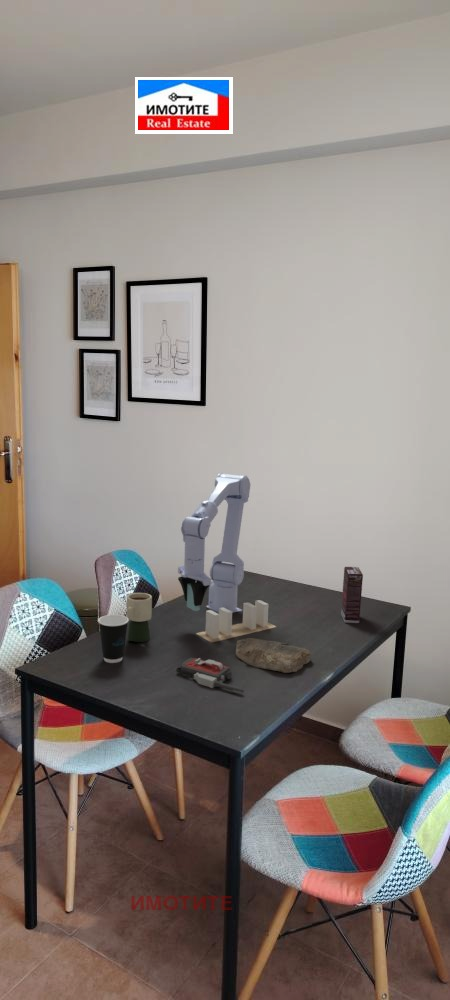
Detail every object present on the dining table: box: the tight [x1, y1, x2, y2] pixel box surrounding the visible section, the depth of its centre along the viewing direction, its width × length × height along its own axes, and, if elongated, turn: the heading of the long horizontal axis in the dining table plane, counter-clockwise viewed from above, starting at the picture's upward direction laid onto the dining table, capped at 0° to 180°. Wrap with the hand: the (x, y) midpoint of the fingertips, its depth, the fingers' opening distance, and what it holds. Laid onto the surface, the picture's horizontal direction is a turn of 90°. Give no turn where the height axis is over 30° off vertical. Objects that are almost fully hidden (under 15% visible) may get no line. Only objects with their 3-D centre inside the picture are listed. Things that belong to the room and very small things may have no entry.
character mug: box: [125, 592, 153, 643], centre depth 197 cm, size 11×7×13 cm, turn 154°
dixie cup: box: [97, 614, 130, 664], centre depth 184 cm, size 8×8×11 cm
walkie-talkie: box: [175, 657, 245, 693], centre depth 175 cm, size 9×4×20 cm
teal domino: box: [186, 584, 201, 612], centre depth 205 cm, size 2×4×7 cm, turn 35°
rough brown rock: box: [235, 637, 313, 674], centre depth 188 cm, size 14×5×20 cm
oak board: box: [195, 622, 277, 643], centre depth 207 cm, size 8×24×1 cm, turn 126°
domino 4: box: [254, 599, 270, 627], centre depth 212 cm, size 2×4×7 cm, turn 36°
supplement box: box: [340, 566, 364, 624], centre depth 221 cm, size 9×5×16 cm, turn 179°
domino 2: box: [218, 607, 233, 636], centre depth 204 cm, size 2×4×7 cm, turn 36°
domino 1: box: [205, 609, 220, 639], centre depth 202 cm, size 2×4×7 cm, turn 36°
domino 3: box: [242, 601, 257, 630], centre depth 209 cm, size 2×4×7 cm, turn 36°
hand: (193, 602), depth 205 cm, fingers closed on teal domino, 4 cm apart
